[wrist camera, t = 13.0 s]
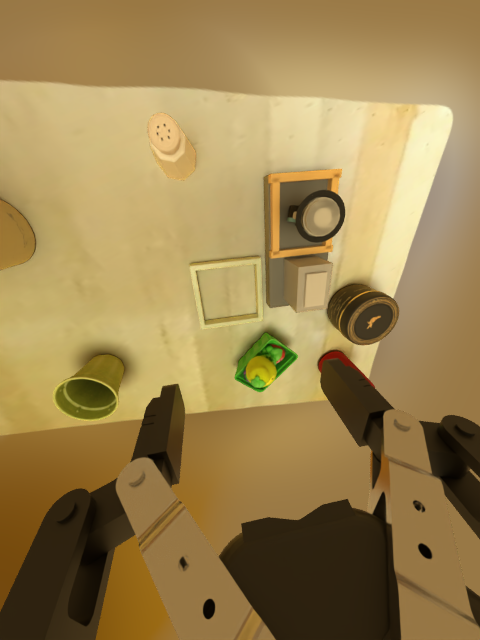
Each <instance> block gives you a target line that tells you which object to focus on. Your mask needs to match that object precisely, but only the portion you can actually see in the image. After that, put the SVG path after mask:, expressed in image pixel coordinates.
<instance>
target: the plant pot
mask: <svg viewBox="0 0 480 640" xmlns="http://www.w3.org/2000/svg"><path fill="white" fill-rule="evenodd" d="M123 373H124V366H123V363H122V361H121V360H120V359H119V358H117V357H115V356H113V355H109V354H106V355H97V356H95V357H94V358H93V359H92V360H90V361H89V362H88V363H87V364H86V365H85V366H84V367H83V368H82V369H81V370H80V371H79V372H77V373H76V374H75V375H74V376H72V377H70V378H68V379H66V380H64V381H62V382H61V383H59V384H58V385H57V386H56V388H55V389H54V392H53V401H54V404H55V406H56V407H57V408H58V409H59V410H60V411H61V412H62V413H64V414H65V415H67V416H69V417H71V418H74V419H77V420H83V421H96V420H101V419H104V418H107V417H109V416H110V415H112V414H113V413H114V412H115V411H116V409H117V407H118V404H119V398H118V391H119V387H120V384H121V380H122V376H123Z"/></svg>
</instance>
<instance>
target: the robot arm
mask: <svg viewBox="0 0 480 640" xmlns="http://www.w3.org/2000/svg"><path fill="white" fill-rule="evenodd" d="M34 250H35V238H34V234H33V232H32V229H31V227H30V226H29V224H28V222H27V221H26V220H25V218H24V217H23V216H22V215H21V214H20V213H19V212H18V211H17V210H16V209H15V208H14V207H12V206H11V205H9V204H8V203H6V202H5V201H2V200H0V270H3V269H6V268H9V267H12V266H16V265H19V264H22V263H24V262H26V261H27V260H29V259H30V257H31V256H32V255H33V252H34ZM320 383H321V388H322V390H323V392H324V394H325V395H326V397H327V398H328V400H329V401H330V403H331V404H332V406H333V407H334V409H335V411H336V412H337V414H338V415H339V417H340V418H341V420H342V421H343V423H344V424H345V426H346V427H347V429H348V430H349V432H350V433H351V435H352V436H353V438H354V439H355V441H356V443H357V444H358V445H359V446H360V447H361V446H365V445H368V446H369V447H370V448H371V454H370V492H369V493H370V494H369V500H368V505H367V512H365V511H363V510H360V509H356V508H352V507H351V505H350V503H349V501H348V499H346V500H342V501H337V502H332V503H328V504H324V505H322V506H320V507H318V508H317V509H315V510H314V511H312V512H311V513H309V514H308V515H306V516H305V517H303V518H302V519H300V520H289V519H279V518H270V517H268V518H263V519H259V520H255V521H251V522H246V523H242V524H241V525H242V533H240V534H239V535H237V536H236V537H235V538H234V539H232V540H231V541H230V542H229V543H228V545H227V546H226V547H225V548H224V549H223V551H222V552H221V554H220V555H219V557H218V556H217V554H216V552H215V551H214V549H213V548H212V546H211V545H210V544H209V542H208V541H207V539H206V537H205V536H204V534H203V533H202V532H201V530H200V528H199V527H198V525H197V524H196V522H195V521H194V519H193V518H192V516H191V515H190V513H189V512H188V510H187V509H186V507H185V506H184V505H183V503H182V502H180V501H179V500H178V498H177V497H176V496H175V494H174V493H173V491H172V489H171V486H172V485H174V484H178V483H179V478H180V466H181V454H182V443H183V432H184V420H185V407H184V402H183V399H182V395H181V392H180V388H179V385H178V384H173V385H167V386H163V387H162V391H161V395H160V397H157V398H153V399H152V400H151V402H150V403H149V404H148V406H147V407H146V411H145V414H144V419H143V421H142V427H141V428H140V432H139V436H138V439H137V443H136V446H135V449H134V453H133V457H132V459H131V462H130V463H129V464H128V465H127V466H126V467H125V468H124V469H123V470H122V471H121V473H120V475H119V476H118V478H116V479H115V480H114V481H112V482H110V483H108V484H107V485H104V486H103V487H101V488H99V489H97V490H95V491H93V492H91V493H89V492H88V491H87V490H85V489H75V490H72V491H70V492H68V493H67V494H65V495H63V496H62V497H61V498H60V499H59V500H57V501H56V502H55V503H54V504H53V506H52V507H51V508H50V509H49V511H48V512H47V514H46V516H45V517H44V519H43V522H42V524H41V526H40V528H39V530H38V533H37V535H36V537H35V539H34V541H33V543H32V545H31V547H30V550H29V552H28V554H27V556H26V558H25V560H24V563H23V564H22V567H21V569H20V571H19V573H18V575H17V577H16V579H15V582H14V584H13V586H12V588H11V590H10V592H9V595H8V597H7V599H6V601H5V603H4V605H3V608H2V610H1V612H0V640H95V638H96V634H97V629H98V625H99V620H100V615H101V610H102V606H103V601H104V597H105V592H106V587H107V582H108V578H109V573H110V569H111V564H112V560H113V554H114V550H115V547H117V546H118V545H120V544H121V543H123V542H124V541H126V540H128V539H129V538H131V537H132V536H134V535H136V537H137V539H138V541H139V548H140V550H141V553H142V555H143V558H144V560H145V562H146V565H147V567H148V569H149V571H150V573H151V576H152V578H153V581H154V583H155V585H156V587H157V590H158V592H159V594H160V596H161V599H162V601H163V603H164V606H165V608H166V610H167V612H168V615H169V617H170V619H171V622H172V624H173V626H174V628H175V631H176V633H177V635H178V638H179V640H480V596H478V595H477V594H476V593H474V592H473V591H472V590H471V589H469V588H468V587H467V586H466V585H465V582H464V578H463V573H462V569H461V564H460V560H459V556H458V551H457V546H456V542H455V538H454V533H453V529H452V524H451V520H450V516H449V511H448V507H447V503H446V498H445V496H446V497H447V498H448V499H449V501H450V502H451V503H452V504H453V506H454V507H455V508H456V510H457V511H458V512H459V513H460V515H461V516H462V517H463V518H464V520H465V521H466V522H467V524H468V525H469V526H470V527H471V529H472V530H473V531H474V532H475V534H476V535H477V536H478V538H479V539H480V482H479V481H478V480H477V479H476V478H475V476H474V475H473V474H472V473H471V472H470V471H469V470H470V468H471V469H472V470H473V471H474V472H475V473H476V474H477V475H478V476H479V477H480V427H479V426H478V425H477V424H475V423H474V422H472V421H470V420H468V419H465V418H463V417H460V416H455V415H448V416H445V417H444V418H443V419H442V421H441V422H440V423H433V422H424V421H418V420H417V419H416V418H414V417H413V416H412V415H410V414H408V413H406V412H404V411H401V410H395V409H394V408H393V407H392V406H391V405H390V404H389V403H388V402H387V401H386V400H385V399H384V397H383V396H381V394H380V393H379V392H378V391H377V390H376V389H375V388H374V387H373V386H371V384H370V383H369V382H368V381H367V380H366V379H365V378H364V377H363V375H362V374H361V373H360V372H359V371H357V370H355V369H354V368H352V367H350V366H345V365H344V364H343V362H342V361H341V360H340V359H338V358H335V359H329V360H324V361H323V364H322V372H321V380H320Z"/></svg>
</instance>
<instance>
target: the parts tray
mask: <svg viewBox="0 0 480 640" xmlns="http://www.w3.org/2000/svg"><path fill="white" fill-rule="evenodd" d="M250 264H254V268H255V290H256V312H257V314H249V315H242V316H235V317H227V318H220V319H213V320H205V319H204V314H203V308H202V302H201V296H200V290H199V285H198V279H197V273H196V271H197V270H206V269H215V268H223V267H232V266H241V265H250ZM189 267H190V273H191V278H192V283H193V289H194V294H195V300H196V305H197V310H198V316H199V321H200V326H201V329H208V328H216V327H223V326H230V325H237V324H244V323H251V322H258V321H263V305H262V272H261V258H260V257H259V256H255V257H246V258H237V259H228V260H219V261H210V262H201V263H192V264H190V265H189Z"/></svg>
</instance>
